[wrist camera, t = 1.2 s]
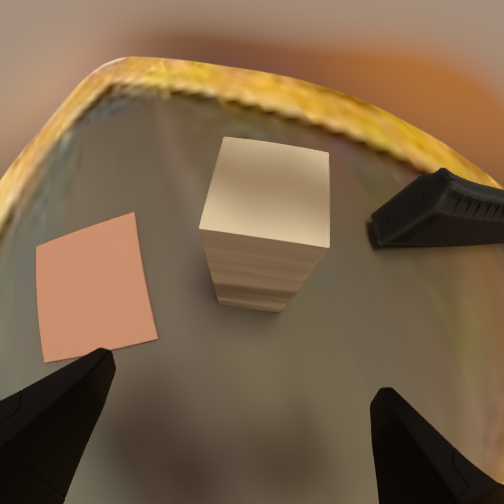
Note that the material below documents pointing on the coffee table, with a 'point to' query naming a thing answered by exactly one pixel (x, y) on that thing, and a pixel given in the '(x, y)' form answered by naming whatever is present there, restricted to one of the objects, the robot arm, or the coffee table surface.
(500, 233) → the black flat curved piece
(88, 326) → the terracotta mat
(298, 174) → the birch block
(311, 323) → the coffee table surface
